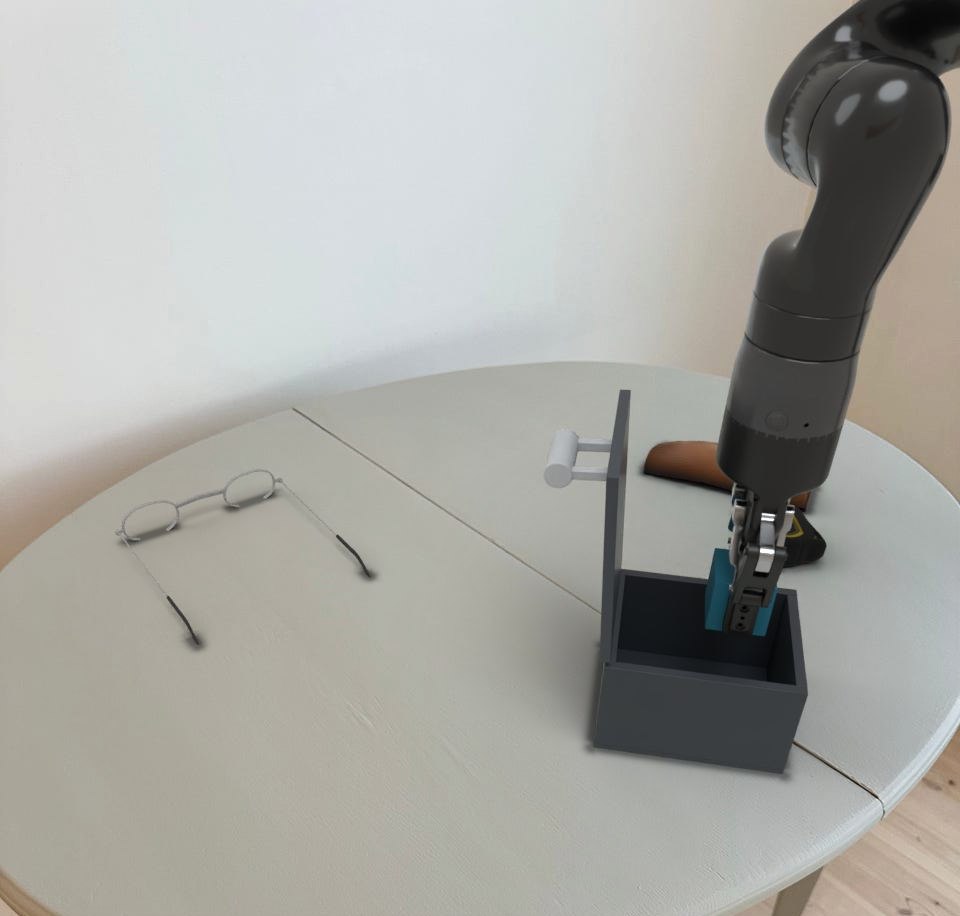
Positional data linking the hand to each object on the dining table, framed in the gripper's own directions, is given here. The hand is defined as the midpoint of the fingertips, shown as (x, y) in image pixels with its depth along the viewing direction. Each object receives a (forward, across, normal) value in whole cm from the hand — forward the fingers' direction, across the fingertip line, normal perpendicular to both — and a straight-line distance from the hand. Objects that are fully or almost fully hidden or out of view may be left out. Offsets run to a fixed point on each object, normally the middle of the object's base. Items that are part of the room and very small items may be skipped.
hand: (735, 611), depth 75 cm
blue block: (0, 0, 0) cm, 0 cm away
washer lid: (-6, 0, +9) cm, 11 cm away
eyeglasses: (+11, +12, +45) cm, 48 cm away
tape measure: (+11, +25, -7) cm, 28 cm away
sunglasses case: (+11, +38, -2) cm, 39 cm away
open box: (+11, 0, +2) cm, 11 cm away
